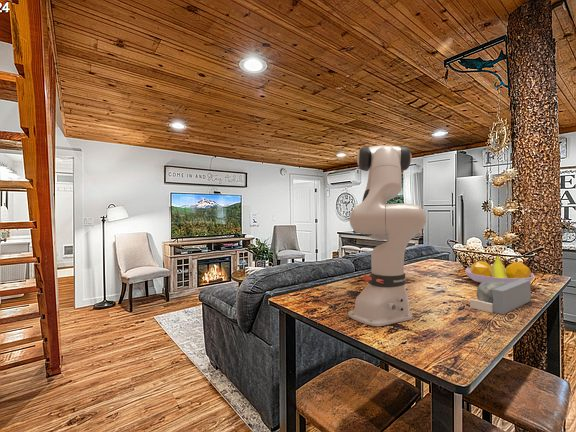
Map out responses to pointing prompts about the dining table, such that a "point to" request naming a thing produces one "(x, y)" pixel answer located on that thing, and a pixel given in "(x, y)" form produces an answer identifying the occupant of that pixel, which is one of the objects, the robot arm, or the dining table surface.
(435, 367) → the dining table surface
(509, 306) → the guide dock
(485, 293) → the grey stone
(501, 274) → the fruit bowl
